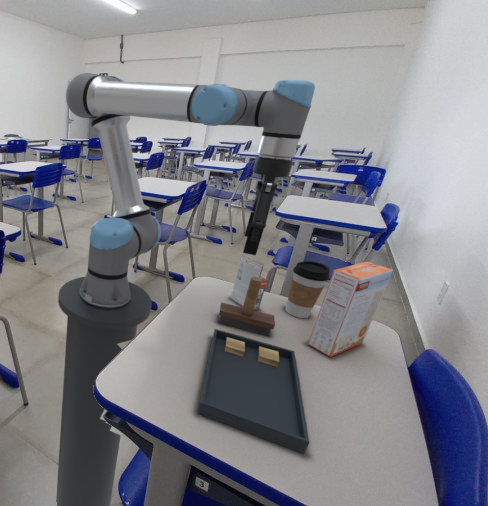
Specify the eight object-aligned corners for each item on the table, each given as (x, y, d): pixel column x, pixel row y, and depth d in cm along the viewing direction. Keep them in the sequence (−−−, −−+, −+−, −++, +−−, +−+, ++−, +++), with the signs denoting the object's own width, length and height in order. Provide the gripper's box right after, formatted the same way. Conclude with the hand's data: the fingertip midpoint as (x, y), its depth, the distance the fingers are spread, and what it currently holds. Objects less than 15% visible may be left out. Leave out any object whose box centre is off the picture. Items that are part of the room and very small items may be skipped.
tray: (212, 337, 89) (214, 328, 88) (290, 360, 82) (294, 351, 81) (197, 413, 66) (200, 402, 65) (304, 454, 59) (309, 442, 58)
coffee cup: (321, 319, 100) (339, 271, 94) (297, 322, 98) (314, 273, 92) (296, 303, 107) (312, 258, 101) (273, 306, 105) (288, 260, 99)
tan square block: (225, 342, 86) (226, 336, 85) (243, 347, 84) (244, 342, 84) (224, 351, 83) (225, 345, 82) (243, 356, 81) (244, 351, 80)
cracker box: (337, 331, 94) (366, 260, 86) (362, 344, 89) (396, 270, 81) (304, 343, 88) (333, 267, 80) (330, 358, 83) (362, 279, 75)
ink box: (238, 296, 110) (250, 253, 104) (259, 309, 103) (273, 264, 97) (229, 298, 108) (240, 254, 103) (250, 311, 101) (263, 265, 96)
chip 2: (257, 351, 83) (259, 346, 83) (276, 356, 82) (278, 351, 81) (257, 361, 80) (259, 355, 79) (277, 367, 78) (279, 361, 78)
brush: (218, 314, 99) (229, 269, 94) (270, 328, 94) (285, 281, 89) (216, 323, 95) (228, 276, 90) (270, 337, 90) (286, 289, 85)
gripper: (299, 165, 67) (268, 266, 76) (289, 154, 88) (265, 233, 96) (256, 160, 70) (230, 258, 79) (256, 150, 91) (235, 228, 99)
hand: (249, 244), depth 87 cm, fingers open, 13 cm apart
